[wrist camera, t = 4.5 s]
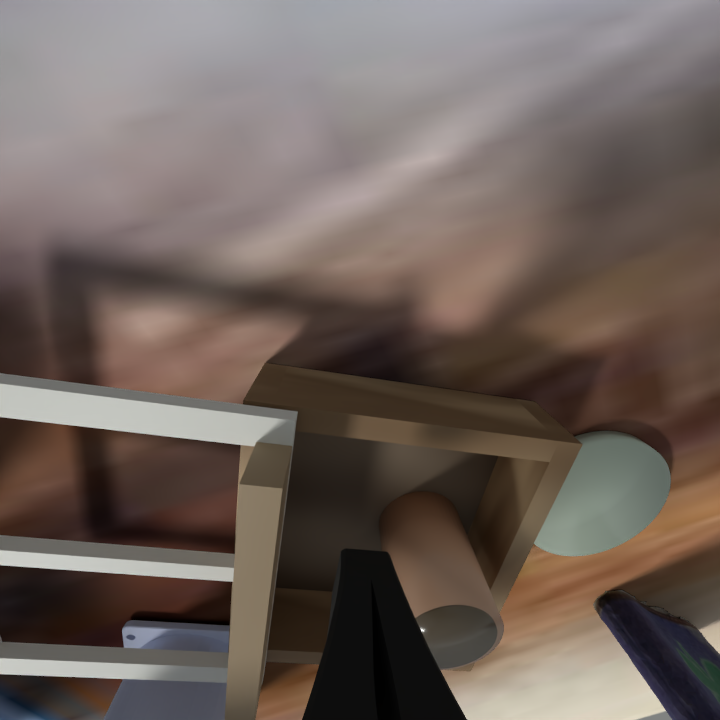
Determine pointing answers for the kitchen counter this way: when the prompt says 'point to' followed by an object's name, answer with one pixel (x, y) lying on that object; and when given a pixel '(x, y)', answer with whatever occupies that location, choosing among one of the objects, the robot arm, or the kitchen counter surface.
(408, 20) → the kitchen counter surface
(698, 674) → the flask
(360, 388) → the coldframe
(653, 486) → the saucer
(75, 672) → the frame
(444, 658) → the brown cylinder
